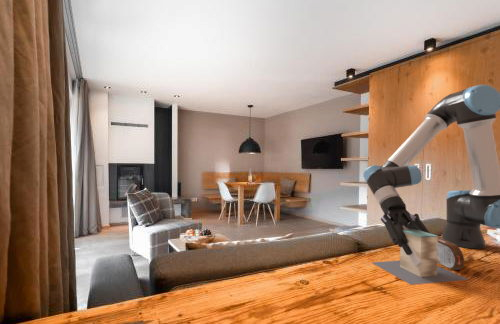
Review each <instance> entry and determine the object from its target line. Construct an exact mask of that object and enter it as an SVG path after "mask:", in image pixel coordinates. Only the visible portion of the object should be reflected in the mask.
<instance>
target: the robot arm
mask: <svg viewBox="0 0 500 324" xmlns="http://www.w3.org/2000/svg"><path fill="white" fill-rule="evenodd" d="M499 111H500V92H499V90H497V88H495V87H493V86H491V85H488V84H478V85H473V86H470V87H467V88H464V89H462V90H458V91H456V92H453V93H450V94H448V95H446V96H445V97H443V98H442V99H441V100H439V101H438V102H437V103H436V104H435V105H434V106H433V107H432V108H431V109H430V110H429V111H428V113H426V114H425V115H424V118H423V119H424V120H423V122H421V124H420V125H419V126H418V127H417V128H416V129H415V130H414V131H413V132H412V133H411V134H410V136H409V137H407V139H406V140H405V141H404V142H402V144H401V145H400V146H399V147H398V148H397V150H396V151H395V152H394V153H393V154H392V155H391V156H390V157H389V158H388V159H387V160H386V161H385V162H384V164H382V165H378V164H374V165H371V166H368V167H367V168H366V169H365V170H364V171H363V178H364V181H365V183H366V184H367V186H368V187H369V189H370V190H371V193H372V194H373V196H374V198H375V200H376V201H377V203H378V205H379V207H380V208H381V211H382V212H383V215H382V217H381V218H380V221H381V222H382V224H383V225H384V226H385V229H386V230H387V232H388V234H389V237H390V239H391V241H392V244H394V245H397V246H398V248H400V247H402V248H403V249H404V251H405V253H406V254H407V255H408V256H409V257H410V259H411V261H412V263H413V264H414V266H415V267H416V266H418V265H419V264H421V263H422V261H421V260H420V258H419V256H418V254H417V253H416V251H415V249H414V248H413V246H412V244H411V243H410V242H408V243H407V239H406V235H405V233H404V232H403V230H405V229H407V230H409V229H415V230H421V231H424V232H427V233H430V231H429V230H428V228H427V227H426V225H425V224H424V223H423V221H422V220H421V219H420V216H419V215H420V214H418V213H414V214H411V213H410V212H409V211H408V210H407V205H406V203H405V201H404V200H403V199H402V197H401V195H400V193H399V192H398V191H397V190H396V189H398V188H403V187H410V186H411V187H412V186H414V185H418V184H420V183H421V182H422V179H423V178H422V177H423V176H422V171H421V169H420V168H419V167H418V166H417V165H414V164H413V165H410V164H411V163H412V162H413V161H414V160H415V158H417V156H418V155H419V154H420V153H421V152H422V151H423V150H424V148H426V147H427V145H429V143H430V142H431V141H432V140H433V139H434V138H435V137H436V136H437V135H439V133H440V132H441V131H445V130H447V128H448V127H449V126H451V125H452V124H454V123H456V124H457V126H458V127H460V129H462V131H463V137H464V143H465V148H466V154H467V159H468V164H469V165H468V166H469V170H470V177H471V183H472V190H468V189H467V190H462V189H461V190H449V191H448V192H447V194H446V199H445V200H446V223H445V226H444V228H443V231H442V233H441V237H440V238H442V239H444V240H446V241H449V242H451V243H454V244H455V245H457V246H458V247H459V248H466V249H467V248H468V249H476V250H477V249H485V248H486V240H485V237H484V235H483V232H482V229H481V225H482V226H485V227H489V228H493V229H500V165H499V159H498V153H497V148H496V147H497V146H496V142H495V135H494V129H493V123H494V122H495V121H496V120H497V115H496V114H497V113H498V112H499ZM404 228H405V229H404ZM439 262H441V260H440V259H439V257H438V255H437V265H438V264H440V263H439Z"/></svg>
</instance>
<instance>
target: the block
mask: <svg viewBox="0 0 500 324" xmlns="http://www.w3.org/2000/svg"><path fill="white" fill-rule="evenodd" d="M403 232H404V233H405V235H406V239H407V243H408V242H410V243H411V244H412V246H413V248H414V249H415V251H416V253H417V254H418V256H419V258H420V260H421V261H422V263H421V264H419V265H418V266H416V267H415V266H414V264H413V263H412V261H411V259H410V257H409V256H408V255H407V254H406V253H405V251H404V249H403V248H402V247H399V249H400V252H399V255H400V256H399V257H400V258H399V261H400V267H402V268H404V269H406V270H408V271H410V272H412V273H414V274H416V275H418V276H420V277H425V276H437V266H438V264H437V253H438V237H439V236H438V235H437V234H433V233H427V232H424V231H421V230H415V229H404V230H403Z"/></svg>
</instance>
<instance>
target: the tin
mask: <svg viewBox="0 0 500 324" xmlns="http://www.w3.org/2000/svg"><path fill="white" fill-rule="evenodd" d="M437 255H438V257H439V259H440V260H441V262H439V263H438V264H439V265H442V266H443V267H446V268H447V269H449V270H452V271H456V270H457V271H461V270H462V269H463V268H464V265H465V257H464V254H463V252H462V250H461V247H459V246H457V245H455V244H454V243H451V242H449V241H446V240H444V239H442V238H441V237H439V236H438V253H437Z"/></svg>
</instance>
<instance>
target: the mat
mask: <svg viewBox="0 0 500 324" xmlns="http://www.w3.org/2000/svg"><path fill="white" fill-rule="evenodd" d="M370 263H371V264H373V265H375V266H376V267H378V268H380V269H382V270H384V271H385V272H387V273H389V274H391V275H392V276H394V277H396V278H398V279H399V280H402V281H403V282H405V283H407V284H408V285H421V284H422V285H423V284H434V283H435V284H436V283H447V282H456V281H459V282H460V281H466V280H467V281H469V280H470V279H469V278H466V277H464V276H462V275H460V274H457V273H454V272H452V271H450V270H448V269H445V268H443V267H440V266H438V265H437V276H425V277H420V276H418V275H416V274H414V273H412V272H410V271H408V270H406V269H404V268H402V267H400V260H390V261H388V260H387V261H386V260H385V261H371V262H370Z"/></svg>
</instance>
